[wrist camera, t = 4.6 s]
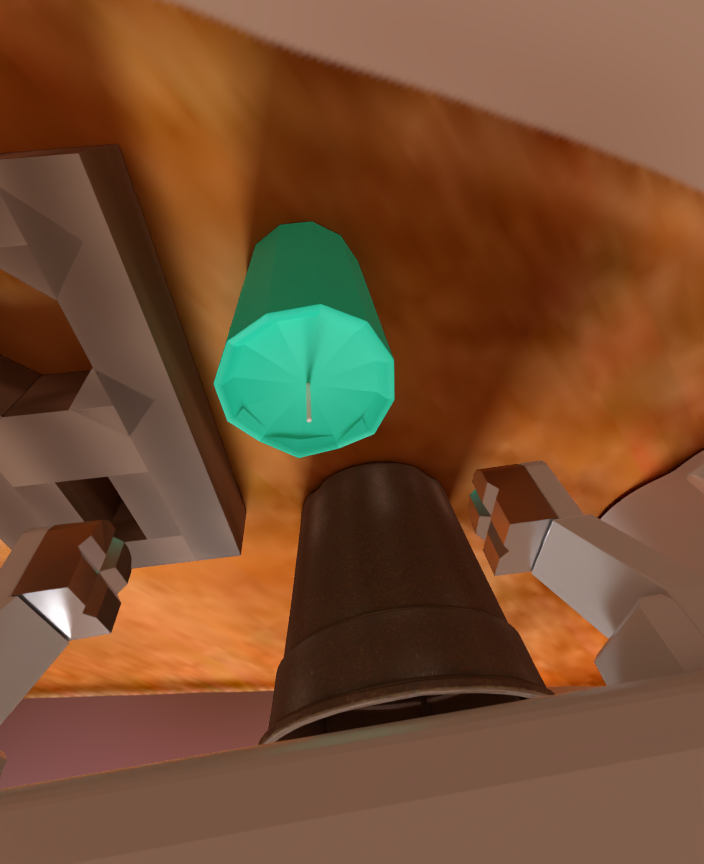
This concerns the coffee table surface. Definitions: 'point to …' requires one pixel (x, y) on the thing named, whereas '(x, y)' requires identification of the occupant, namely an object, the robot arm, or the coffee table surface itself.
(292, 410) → the candle
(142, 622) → the coffee table surface
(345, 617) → the plant pot
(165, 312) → the socket block
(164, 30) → the coffee table surface
